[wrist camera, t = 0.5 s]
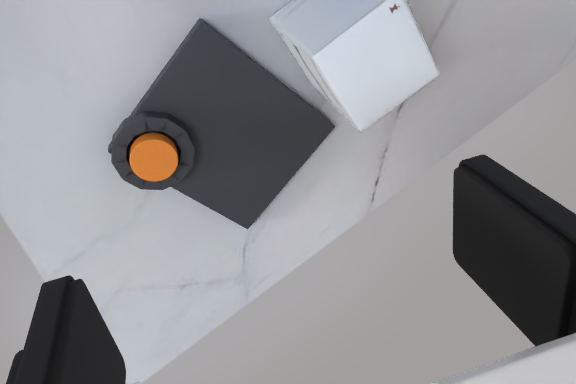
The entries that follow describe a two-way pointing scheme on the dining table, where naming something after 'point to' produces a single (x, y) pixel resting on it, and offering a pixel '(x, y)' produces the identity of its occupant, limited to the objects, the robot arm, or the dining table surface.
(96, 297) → the dining table surface
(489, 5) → the dining table surface
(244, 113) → the scale
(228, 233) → the dining table surface
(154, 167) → the button
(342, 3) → the white packaging box
